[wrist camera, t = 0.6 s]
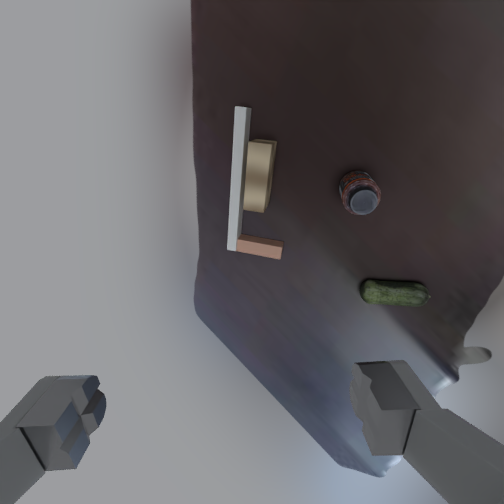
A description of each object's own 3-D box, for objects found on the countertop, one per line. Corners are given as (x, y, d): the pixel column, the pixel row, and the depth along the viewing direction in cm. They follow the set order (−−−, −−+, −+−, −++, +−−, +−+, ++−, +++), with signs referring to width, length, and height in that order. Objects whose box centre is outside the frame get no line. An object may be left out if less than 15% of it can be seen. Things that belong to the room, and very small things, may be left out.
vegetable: (357, 294, 60) (360, 308, 55) (359, 275, 57) (363, 288, 53) (423, 298, 57) (432, 313, 52) (429, 279, 54) (438, 292, 50)
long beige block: (256, 138, 49) (248, 141, 43) (277, 141, 48) (271, 144, 42) (251, 199, 55) (243, 209, 48) (269, 202, 54) (263, 212, 48)
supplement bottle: (364, 163, 47) (377, 175, 37) (376, 191, 48) (392, 210, 39) (333, 179, 49) (337, 195, 39) (345, 205, 51) (353, 227, 41)
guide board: (241, 107, 47) (235, 106, 43) (306, 114, 45) (305, 113, 41) (232, 243, 60) (227, 251, 57) (281, 253, 59) (279, 261, 55)
